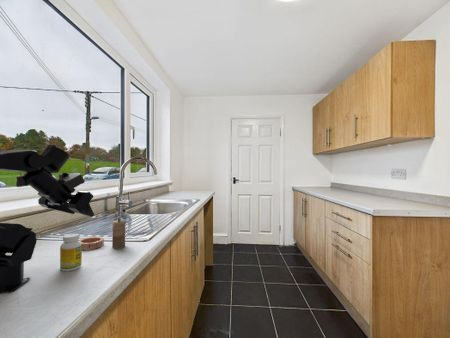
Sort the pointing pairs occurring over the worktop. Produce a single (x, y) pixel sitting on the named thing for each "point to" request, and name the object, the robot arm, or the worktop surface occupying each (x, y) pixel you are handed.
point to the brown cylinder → (118, 234)
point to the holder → (92, 243)
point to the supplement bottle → (70, 253)
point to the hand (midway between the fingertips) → (83, 214)
